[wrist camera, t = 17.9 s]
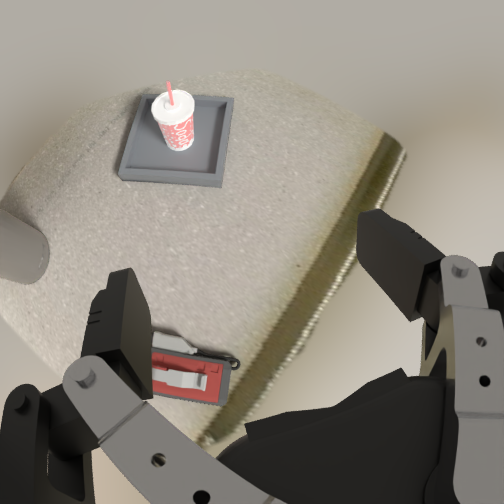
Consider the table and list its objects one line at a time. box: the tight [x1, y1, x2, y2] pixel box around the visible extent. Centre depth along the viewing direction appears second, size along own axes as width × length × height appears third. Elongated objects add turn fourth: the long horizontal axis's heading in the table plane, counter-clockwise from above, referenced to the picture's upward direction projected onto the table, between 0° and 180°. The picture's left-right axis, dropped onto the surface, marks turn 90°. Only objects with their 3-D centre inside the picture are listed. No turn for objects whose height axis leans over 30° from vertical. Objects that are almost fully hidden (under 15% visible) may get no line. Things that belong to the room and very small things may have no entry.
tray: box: [118, 94, 234, 188], centre depth 47 cm, size 16×16×2 cm
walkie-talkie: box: [151, 331, 240, 407], centre depth 39 cm, size 9×4×20 cm
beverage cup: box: [151, 80, 195, 151], centre depth 41 cm, size 6×6×14 cm
